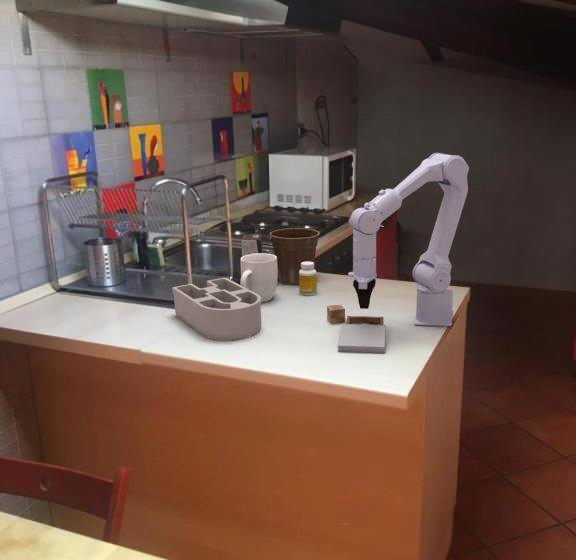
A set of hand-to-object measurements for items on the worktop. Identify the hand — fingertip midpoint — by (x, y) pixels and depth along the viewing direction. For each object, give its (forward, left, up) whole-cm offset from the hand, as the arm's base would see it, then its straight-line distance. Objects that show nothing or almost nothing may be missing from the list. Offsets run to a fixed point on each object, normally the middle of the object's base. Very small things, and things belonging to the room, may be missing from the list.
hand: (364, 307), depth 163 cm
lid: (0, +10, -5) cm, 11 cm away
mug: (+33, -23, -7) cm, 41 cm away
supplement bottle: (+19, -31, -7) cm, 37 cm away
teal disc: (0, -1, -7) cm, 7 cm away
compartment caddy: (+39, -3, -7) cm, 40 cm away
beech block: (+8, -7, -6) cm, 12 cm away
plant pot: (+25, -45, -7) cm, 52 cm away
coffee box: (+38, -39, -7) cm, 55 cm away
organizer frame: (0, +1, -6) cm, 6 cm away
